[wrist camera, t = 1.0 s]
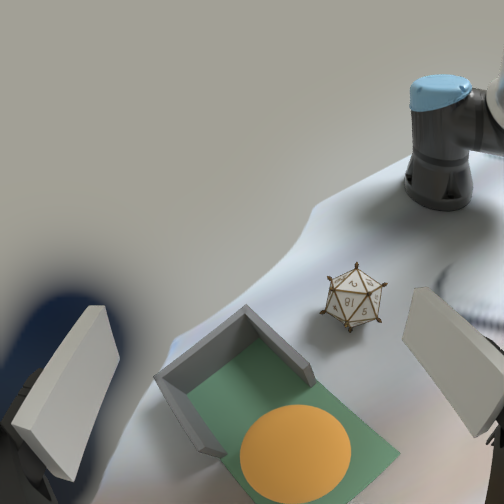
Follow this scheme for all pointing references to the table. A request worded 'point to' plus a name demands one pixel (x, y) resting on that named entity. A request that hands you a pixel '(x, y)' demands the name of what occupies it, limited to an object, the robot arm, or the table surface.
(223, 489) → the table surface
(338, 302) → the game die
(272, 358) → the pitch
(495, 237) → the table surface
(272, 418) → the ball
